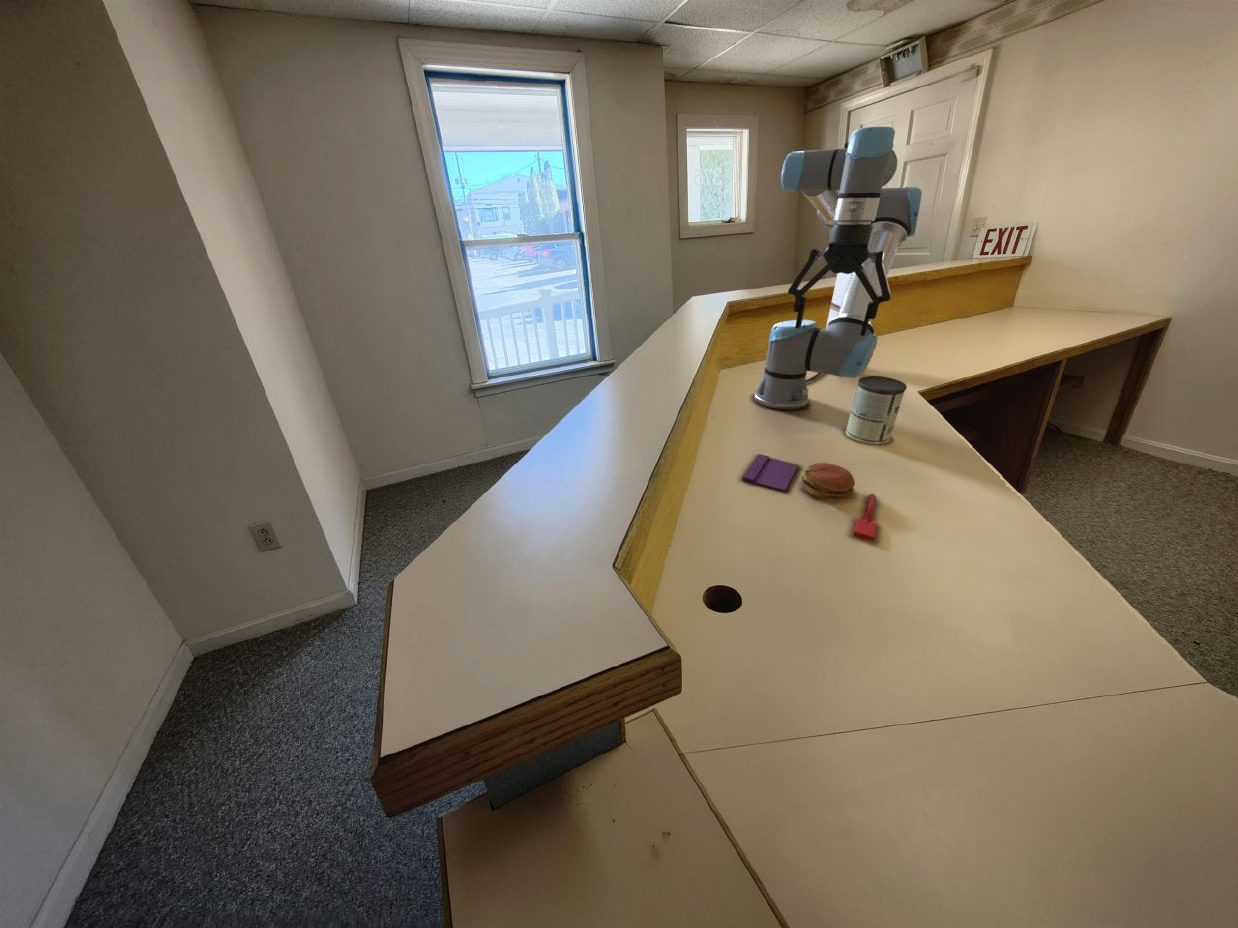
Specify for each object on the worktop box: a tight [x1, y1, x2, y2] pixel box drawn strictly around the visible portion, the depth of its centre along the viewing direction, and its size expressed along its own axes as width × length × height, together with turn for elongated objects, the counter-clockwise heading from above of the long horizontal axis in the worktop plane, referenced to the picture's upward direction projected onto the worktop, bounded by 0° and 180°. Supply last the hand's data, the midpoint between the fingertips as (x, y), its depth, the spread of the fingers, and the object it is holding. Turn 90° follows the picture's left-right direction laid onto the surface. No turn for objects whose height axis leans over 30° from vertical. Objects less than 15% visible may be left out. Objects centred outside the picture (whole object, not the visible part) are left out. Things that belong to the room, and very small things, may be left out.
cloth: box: [742, 453, 799, 493], centre depth 99 cm, size 12×9×1 cm
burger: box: [801, 462, 856, 501], centre depth 93 cm, size 10×9×5 cm
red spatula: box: [852, 493, 878, 542], centre depth 85 cm, size 15×3×1 cm, turn 149°
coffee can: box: [844, 375, 908, 445], centre depth 112 cm, size 10×10×14 cm
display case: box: [825, 273, 882, 329], centre depth 156 cm, size 11×11×35 cm
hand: (829, 330), depth 101 cm, fingers open, 13 cm apart
